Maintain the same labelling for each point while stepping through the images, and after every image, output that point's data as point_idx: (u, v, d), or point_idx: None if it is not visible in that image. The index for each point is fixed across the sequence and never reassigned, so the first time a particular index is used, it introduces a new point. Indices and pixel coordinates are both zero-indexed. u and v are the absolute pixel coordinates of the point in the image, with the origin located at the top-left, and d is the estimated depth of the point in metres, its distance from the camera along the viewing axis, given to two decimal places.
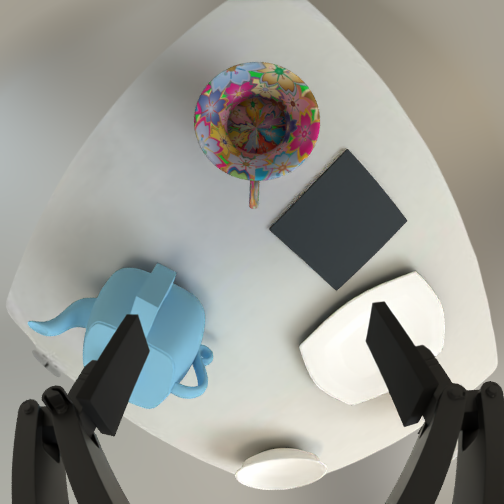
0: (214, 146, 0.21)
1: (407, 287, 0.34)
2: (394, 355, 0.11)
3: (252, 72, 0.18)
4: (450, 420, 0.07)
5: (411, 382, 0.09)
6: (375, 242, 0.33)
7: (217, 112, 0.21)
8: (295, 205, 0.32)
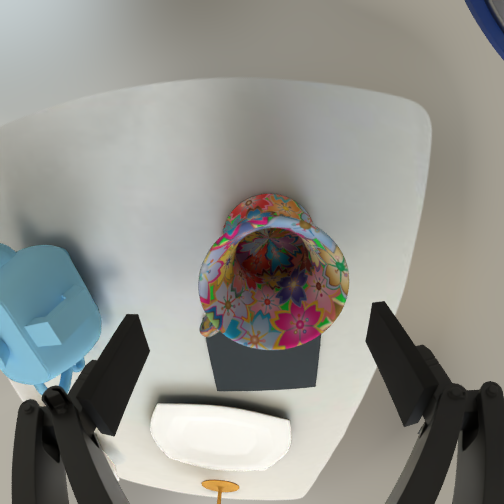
0: (214, 272, 0.18)
1: (273, 425, 0.35)
2: (394, 355, 0.11)
3: (317, 241, 0.17)
4: (450, 420, 0.07)
5: (411, 382, 0.09)
6: (276, 384, 0.34)
7: (247, 234, 0.18)
8: None
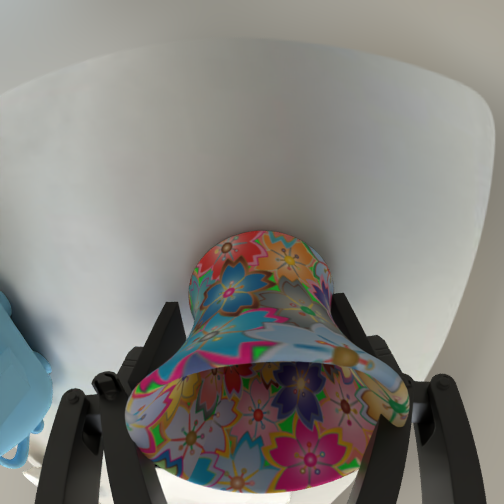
0: (156, 409, 0.08)
1: None
2: None
3: None
4: None
5: None
6: None
7: None
8: None
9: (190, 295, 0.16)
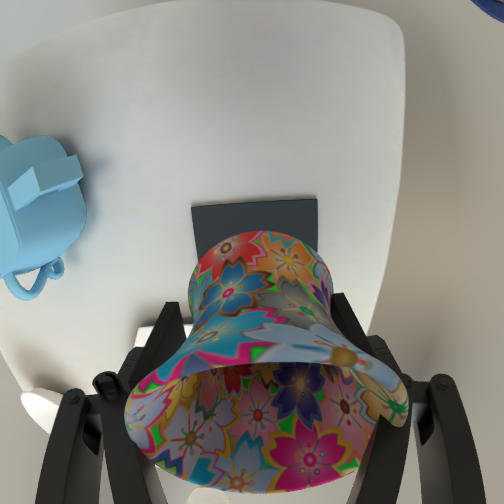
0: (155, 409, 0.08)
1: None
2: None
3: None
4: None
5: None
6: None
7: None
8: (230, 206, 0.29)
9: (190, 295, 0.16)
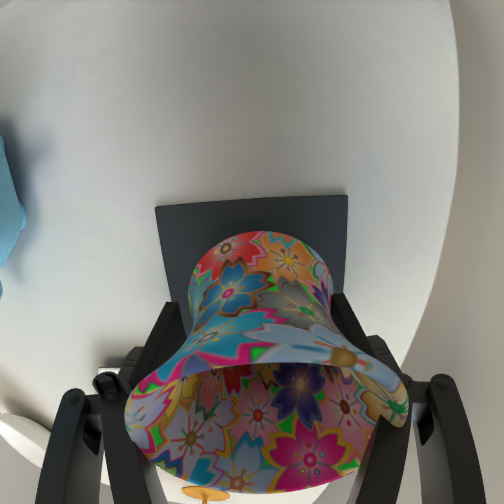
0: (155, 409, 0.08)
1: None
2: None
3: None
4: None
5: None
6: None
7: None
8: (213, 205, 0.18)
9: (190, 296, 0.16)
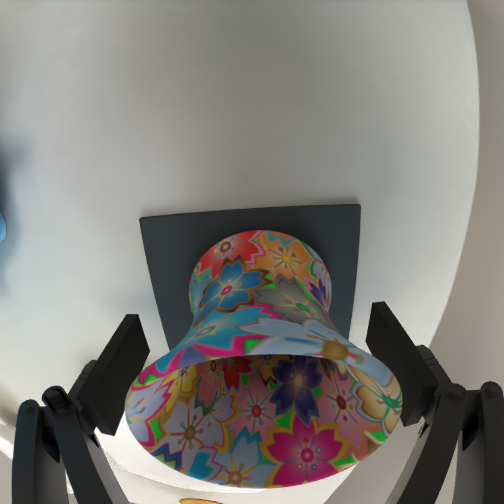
0: (155, 402, 0.08)
1: None
2: (394, 355, 0.11)
3: None
4: (450, 420, 0.07)
5: (411, 382, 0.09)
6: None
7: None
8: (205, 216, 0.16)
9: (190, 293, 0.16)
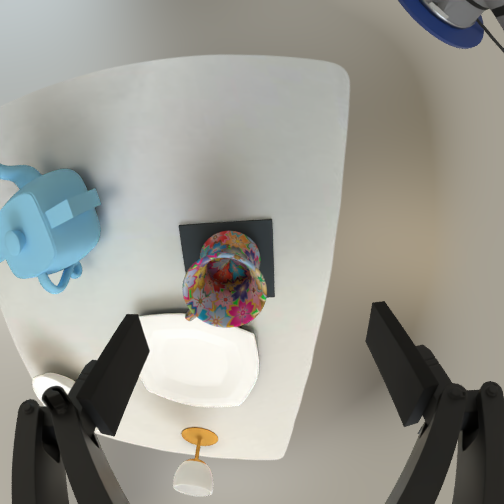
0: (191, 282, 0.31)
1: (240, 339, 0.44)
2: (394, 355, 0.11)
3: (246, 265, 0.30)
4: (450, 420, 0.07)
5: (411, 382, 0.09)
6: None
7: None
8: (207, 225, 0.39)
9: (200, 257, 0.39)
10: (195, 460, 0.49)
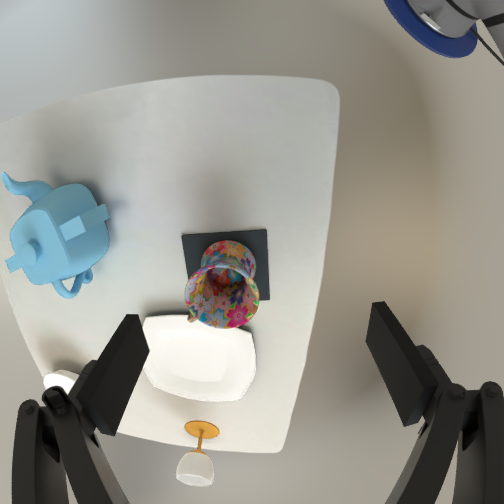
0: (192, 288, 0.35)
1: (238, 338, 0.48)
2: (394, 355, 0.11)
3: (241, 274, 0.34)
4: (450, 420, 0.07)
5: (411, 382, 0.09)
6: None
7: None
8: (207, 235, 0.43)
9: (201, 264, 0.43)
10: (197, 452, 0.53)
